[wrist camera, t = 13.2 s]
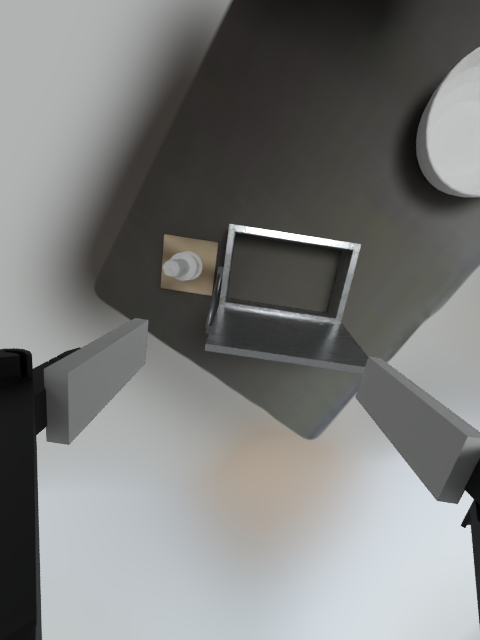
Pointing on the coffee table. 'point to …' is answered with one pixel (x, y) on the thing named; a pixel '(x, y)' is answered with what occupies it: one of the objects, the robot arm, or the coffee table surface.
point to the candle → (183, 266)
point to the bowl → (453, 131)
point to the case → (286, 316)
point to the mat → (206, 254)
